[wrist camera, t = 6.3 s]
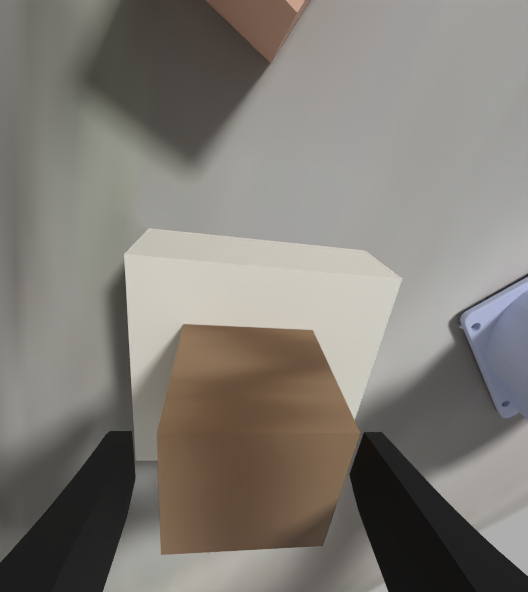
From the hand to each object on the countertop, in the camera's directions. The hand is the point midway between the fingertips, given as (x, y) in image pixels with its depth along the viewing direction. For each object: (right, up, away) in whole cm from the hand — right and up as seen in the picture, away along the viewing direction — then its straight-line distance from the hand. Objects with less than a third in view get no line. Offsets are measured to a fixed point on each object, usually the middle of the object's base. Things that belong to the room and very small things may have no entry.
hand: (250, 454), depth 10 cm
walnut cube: (0, +2, +3) cm, 4 cm away
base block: (0, +3, +7) cm, 8 cm away
